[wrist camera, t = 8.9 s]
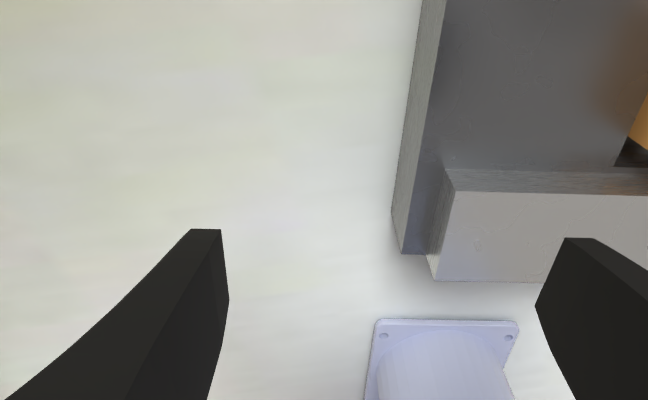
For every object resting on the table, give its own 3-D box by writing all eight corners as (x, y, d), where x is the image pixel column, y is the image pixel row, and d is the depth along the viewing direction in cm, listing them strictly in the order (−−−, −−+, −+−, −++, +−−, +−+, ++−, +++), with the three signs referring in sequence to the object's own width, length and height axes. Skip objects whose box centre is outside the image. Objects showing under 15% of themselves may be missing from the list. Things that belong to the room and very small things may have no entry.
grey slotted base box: (685, 219, 20) (768, 287, 17) (391, 211, 20) (407, 280, 16) (983, -264, 12) (1305, -353, 8) (467, -295, 11) (542, -403, 7)
